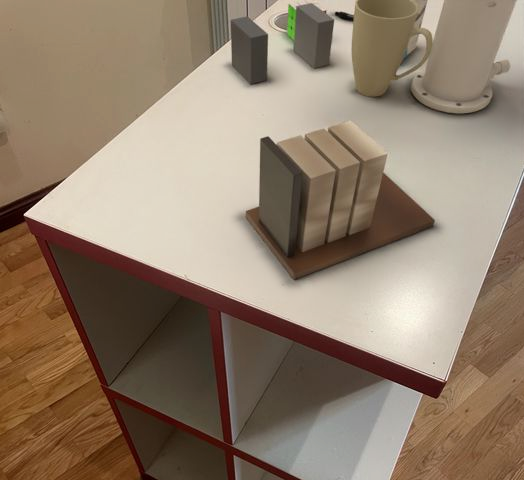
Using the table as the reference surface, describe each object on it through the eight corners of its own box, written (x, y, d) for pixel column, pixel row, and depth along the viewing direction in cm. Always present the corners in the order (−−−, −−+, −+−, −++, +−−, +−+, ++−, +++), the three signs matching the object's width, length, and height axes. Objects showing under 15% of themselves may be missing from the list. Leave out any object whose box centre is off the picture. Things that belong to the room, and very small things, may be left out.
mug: (348, 107, 79) (362, 22, 70) (338, 75, 85) (350, -8, 75) (418, 106, 80) (441, 21, 70) (403, 74, 86) (423, -8, 76)
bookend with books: (376, 173, 70) (397, 85, 60) (432, 226, 64) (465, 137, 54) (245, 217, 64) (244, 127, 54) (293, 280, 58) (302, 191, 48)
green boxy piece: (298, 45, 91) (300, 14, 87) (286, 34, 94) (288, 3, 90) (323, 41, 92) (326, 10, 88) (311, 29, 95) (313, -1, 91)
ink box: (395, 67, 87) (419, -37, 75) (370, 58, 89) (388, -45, 77) (416, 48, 91) (441, -53, 79) (391, 40, 93) (412, -60, 81)
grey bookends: (307, 47, 91) (311, 2, 85) (329, 64, 87) (334, 19, 82) (231, 65, 86) (230, 19, 81) (250, 84, 83) (250, 37, 77)
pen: (332, 18, 99) (333, 11, 98) (336, 15, 99) (337, 8, 98) (400, 37, 94) (401, 30, 94) (403, 33, 95) (405, 26, 94)
